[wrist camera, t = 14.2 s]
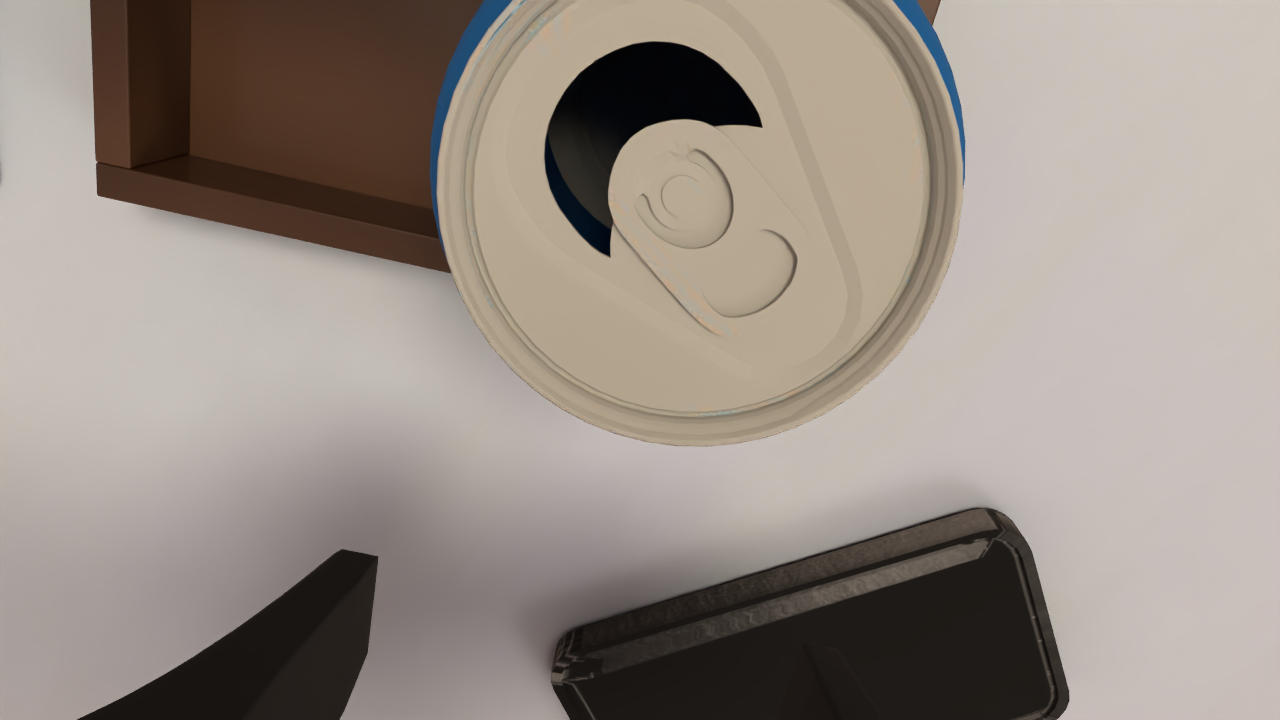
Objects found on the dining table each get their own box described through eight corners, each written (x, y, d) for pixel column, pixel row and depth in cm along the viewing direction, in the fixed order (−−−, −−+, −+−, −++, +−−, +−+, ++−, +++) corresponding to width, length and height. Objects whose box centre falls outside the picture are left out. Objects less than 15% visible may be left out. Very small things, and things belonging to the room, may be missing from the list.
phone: (538, 662, 25) (1023, 520, 23) (543, 637, 26) (1008, 498, 24) (632, 832, 28) (1077, 721, 26) (634, 804, 29) (1061, 694, 27)
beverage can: (700, -103, 18) (746, -315, 7) (870, 125, 20) (1125, 246, 9) (495, 98, 20) (271, 182, 9) (667, 291, 22) (663, 568, 10)
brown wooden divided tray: (806, 318, 22) (824, 356, 20) (165, 176, 21) (96, 196, 19) (920, -45, 19) (960, -58, 16) (164, -231, 18) (79, -275, 15)
